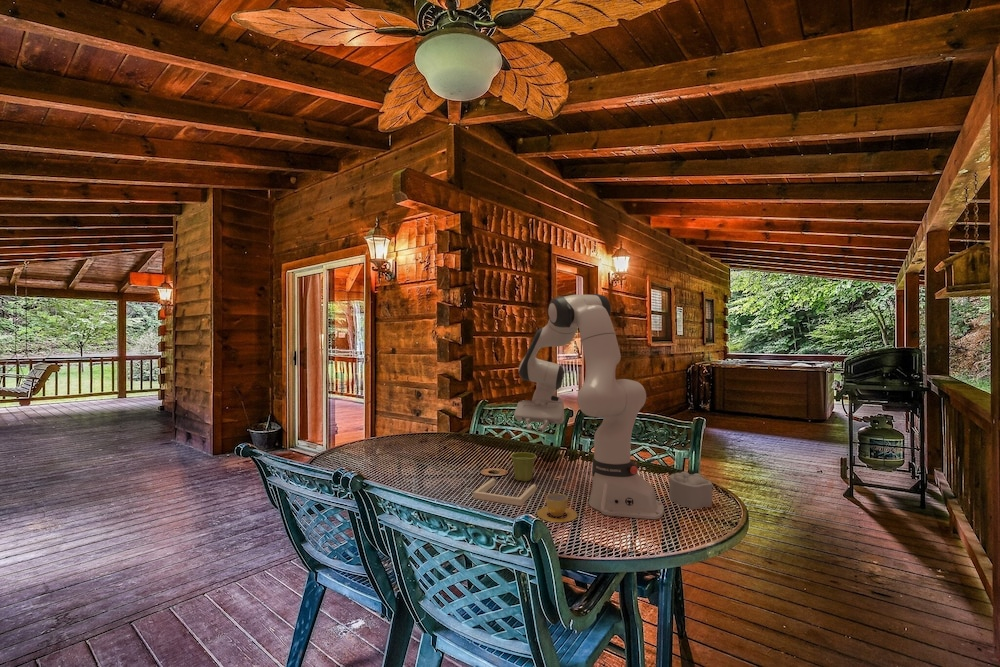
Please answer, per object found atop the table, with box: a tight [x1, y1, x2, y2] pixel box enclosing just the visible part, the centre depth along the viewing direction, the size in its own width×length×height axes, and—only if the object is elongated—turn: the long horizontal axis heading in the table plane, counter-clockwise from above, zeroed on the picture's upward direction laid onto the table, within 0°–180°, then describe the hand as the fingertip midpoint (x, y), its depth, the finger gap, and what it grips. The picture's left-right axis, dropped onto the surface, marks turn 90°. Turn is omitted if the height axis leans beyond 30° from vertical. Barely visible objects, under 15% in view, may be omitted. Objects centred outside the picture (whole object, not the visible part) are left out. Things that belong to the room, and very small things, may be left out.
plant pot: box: [510, 451, 537, 482], centre depth 170 cm, size 9×9×9 cm
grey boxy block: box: [668, 471, 713, 510], centre depth 148 cm, size 10×13×9 cm
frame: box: [472, 478, 537, 507], centre depth 153 cm, size 16×15×2 cm
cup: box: [536, 493, 578, 523], centre depth 137 cm, size 12×12×5 cm
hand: (535, 429), depth 182 cm, fingers open, 4 cm apart
